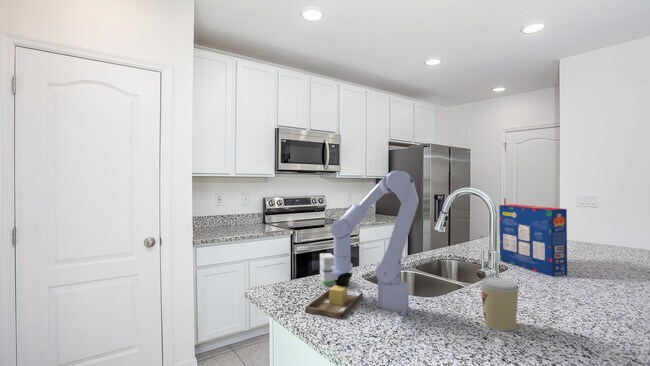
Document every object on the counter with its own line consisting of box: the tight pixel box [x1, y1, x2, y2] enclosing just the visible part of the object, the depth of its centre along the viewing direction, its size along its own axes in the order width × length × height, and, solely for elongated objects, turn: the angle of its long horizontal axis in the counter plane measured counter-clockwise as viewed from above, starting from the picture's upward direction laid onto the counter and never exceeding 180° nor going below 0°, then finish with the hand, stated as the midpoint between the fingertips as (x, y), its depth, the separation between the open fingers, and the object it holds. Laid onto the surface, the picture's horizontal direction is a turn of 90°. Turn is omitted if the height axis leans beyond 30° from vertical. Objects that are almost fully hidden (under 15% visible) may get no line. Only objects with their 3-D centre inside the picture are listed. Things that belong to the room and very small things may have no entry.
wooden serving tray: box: [304, 289, 364, 320], centre depth 104 cm, size 12×19×3 cm, turn 155°
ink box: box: [319, 252, 336, 287], centre depth 127 cm, size 9×5×12 cm, turn 12°
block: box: [328, 285, 348, 305], centre depth 106 cm, size 4×4×4 cm
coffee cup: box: [480, 277, 520, 332], centre depth 90 cm, size 9×9×12 cm
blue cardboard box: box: [498, 204, 568, 277], centre depth 148 cm, size 28×8×28 cm, turn 14°
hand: (342, 294), depth 109 cm, fingers closed
